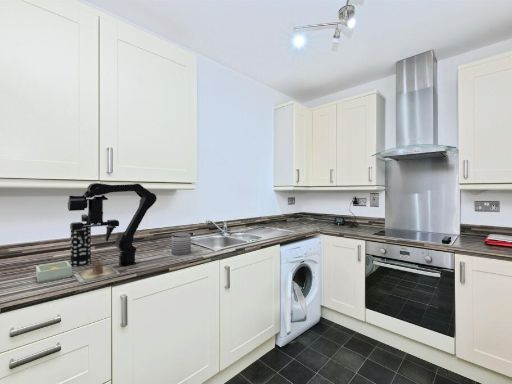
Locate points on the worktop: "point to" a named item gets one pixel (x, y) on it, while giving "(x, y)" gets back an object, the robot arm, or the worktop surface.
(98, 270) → the cover
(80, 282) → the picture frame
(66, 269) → the dish
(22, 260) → the worktop surface
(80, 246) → the white-spotted black cylinder
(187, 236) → the can
